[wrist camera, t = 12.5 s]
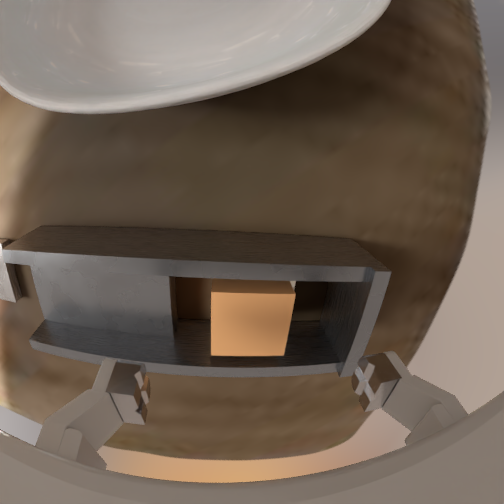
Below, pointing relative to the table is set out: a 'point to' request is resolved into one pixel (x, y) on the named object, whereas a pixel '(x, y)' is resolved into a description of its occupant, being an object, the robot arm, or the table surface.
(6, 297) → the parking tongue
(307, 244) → the rail
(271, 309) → the block
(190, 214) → the table surface
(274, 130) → the table surface
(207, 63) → the serving bowl
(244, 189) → the table surface
